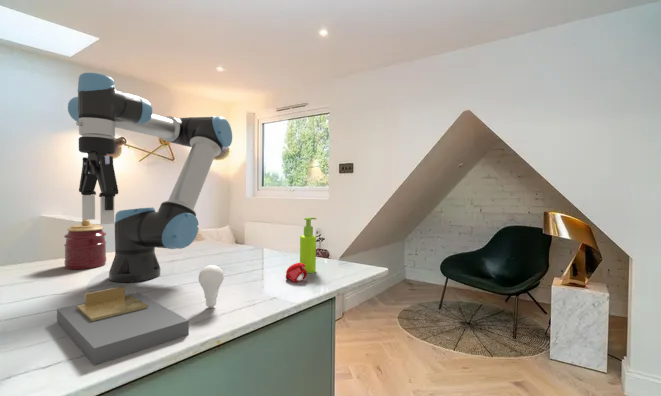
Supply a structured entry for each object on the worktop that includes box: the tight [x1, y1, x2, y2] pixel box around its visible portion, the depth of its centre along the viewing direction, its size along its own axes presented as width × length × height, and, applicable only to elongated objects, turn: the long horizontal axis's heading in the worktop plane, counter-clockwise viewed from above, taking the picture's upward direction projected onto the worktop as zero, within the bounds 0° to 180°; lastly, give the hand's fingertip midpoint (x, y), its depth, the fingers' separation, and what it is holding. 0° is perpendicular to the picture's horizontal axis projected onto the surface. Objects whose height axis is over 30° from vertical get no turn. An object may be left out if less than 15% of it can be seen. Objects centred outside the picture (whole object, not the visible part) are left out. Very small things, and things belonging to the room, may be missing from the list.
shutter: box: [77, 285, 148, 322], centre depth 78 cm, size 11×11×3 cm
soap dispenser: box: [299, 216, 317, 274], centre depth 128 cm, size 6×7×20 cm
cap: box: [285, 262, 308, 283], centre depth 115 cm, size 8×6×6 cm
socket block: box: [56, 291, 190, 366], centre depth 75 cm, size 28×17×3 cm, turn 49°
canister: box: [63, 220, 107, 270], centre depth 129 cm, size 13×13×18 cm
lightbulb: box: [198, 264, 225, 309], centre depth 88 cm, size 6×6×11 cm
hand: (97, 221), depth 87 cm, fingers open, 13 cm apart
